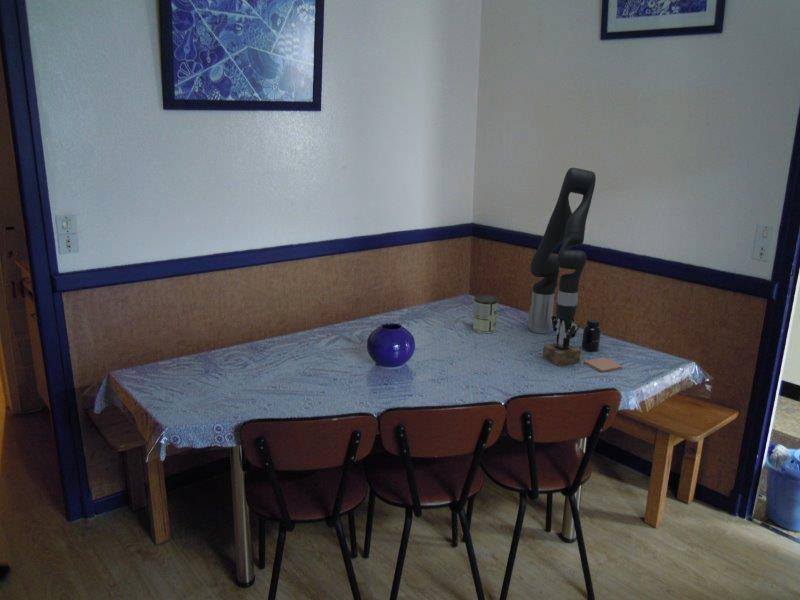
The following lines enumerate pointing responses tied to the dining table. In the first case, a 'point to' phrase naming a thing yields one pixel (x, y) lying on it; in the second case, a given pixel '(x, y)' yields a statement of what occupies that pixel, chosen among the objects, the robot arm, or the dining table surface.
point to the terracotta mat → (603, 364)
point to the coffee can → (485, 313)
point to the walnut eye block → (561, 355)
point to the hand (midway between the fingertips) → (562, 345)
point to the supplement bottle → (591, 335)
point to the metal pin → (561, 338)
